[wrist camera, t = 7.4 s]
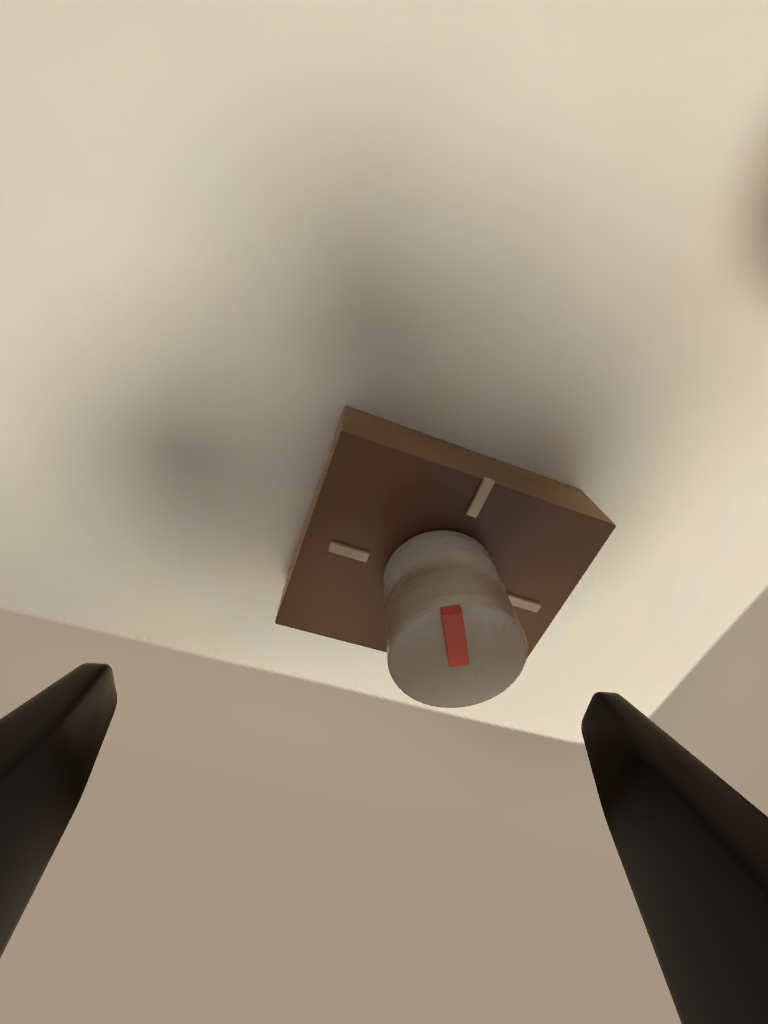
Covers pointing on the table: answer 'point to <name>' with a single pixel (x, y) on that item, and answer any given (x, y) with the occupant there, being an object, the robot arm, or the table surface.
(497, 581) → the heat knob
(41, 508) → the table surface
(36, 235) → the table surface
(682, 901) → the robot arm
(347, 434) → the panel
